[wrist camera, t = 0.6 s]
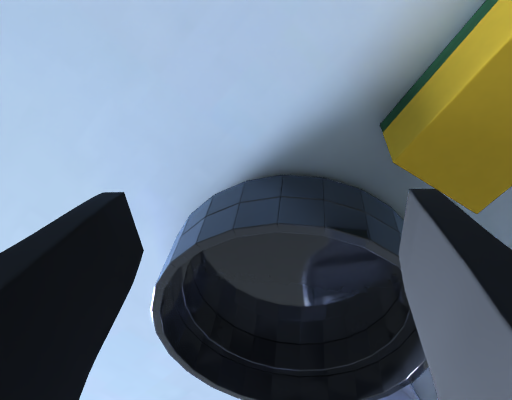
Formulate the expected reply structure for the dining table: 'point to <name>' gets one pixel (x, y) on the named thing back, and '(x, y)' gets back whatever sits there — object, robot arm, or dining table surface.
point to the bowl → (290, 294)
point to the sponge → (461, 114)
